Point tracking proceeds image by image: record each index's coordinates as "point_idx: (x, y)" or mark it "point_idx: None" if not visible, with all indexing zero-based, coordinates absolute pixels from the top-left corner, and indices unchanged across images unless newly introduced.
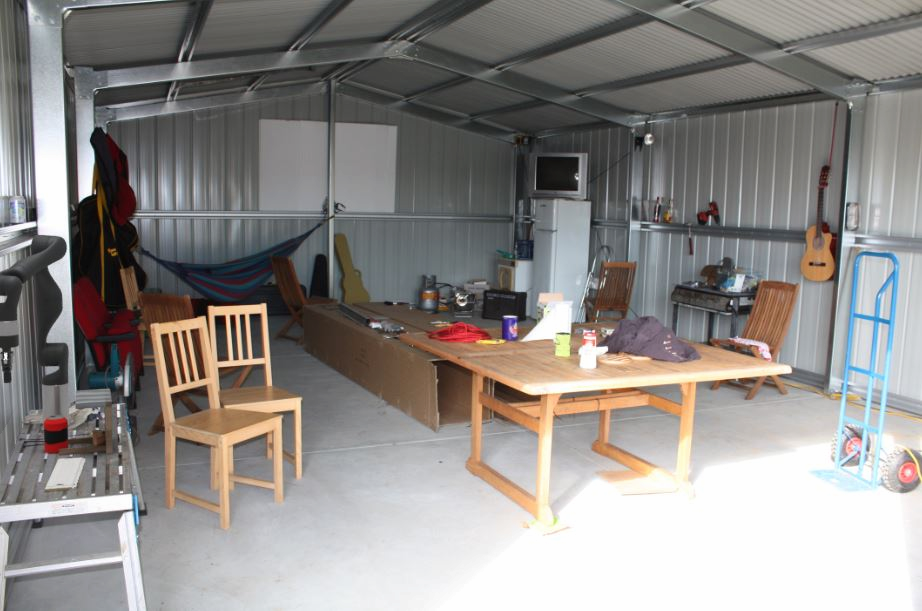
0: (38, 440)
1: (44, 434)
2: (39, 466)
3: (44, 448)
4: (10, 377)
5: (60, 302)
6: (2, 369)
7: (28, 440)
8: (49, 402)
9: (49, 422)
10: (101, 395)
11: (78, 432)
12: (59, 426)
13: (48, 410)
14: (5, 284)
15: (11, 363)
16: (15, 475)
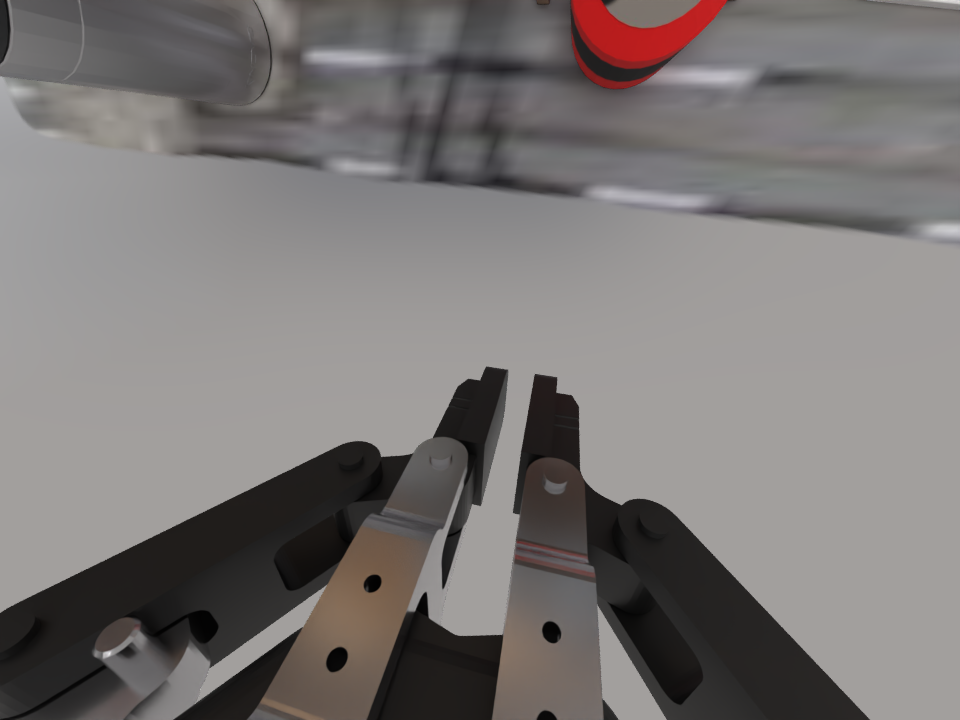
0: (428, 123)
1: (647, 71)
2: (875, 110)
3: (625, 86)
4: (552, 412)
5: None
6: (671, 624)
7: (418, 166)
8: (149, 40)
9: (715, 4)
10: None
11: None
12: None
13: (195, 59)
14: None
15: (595, 619)
16: (934, 220)
